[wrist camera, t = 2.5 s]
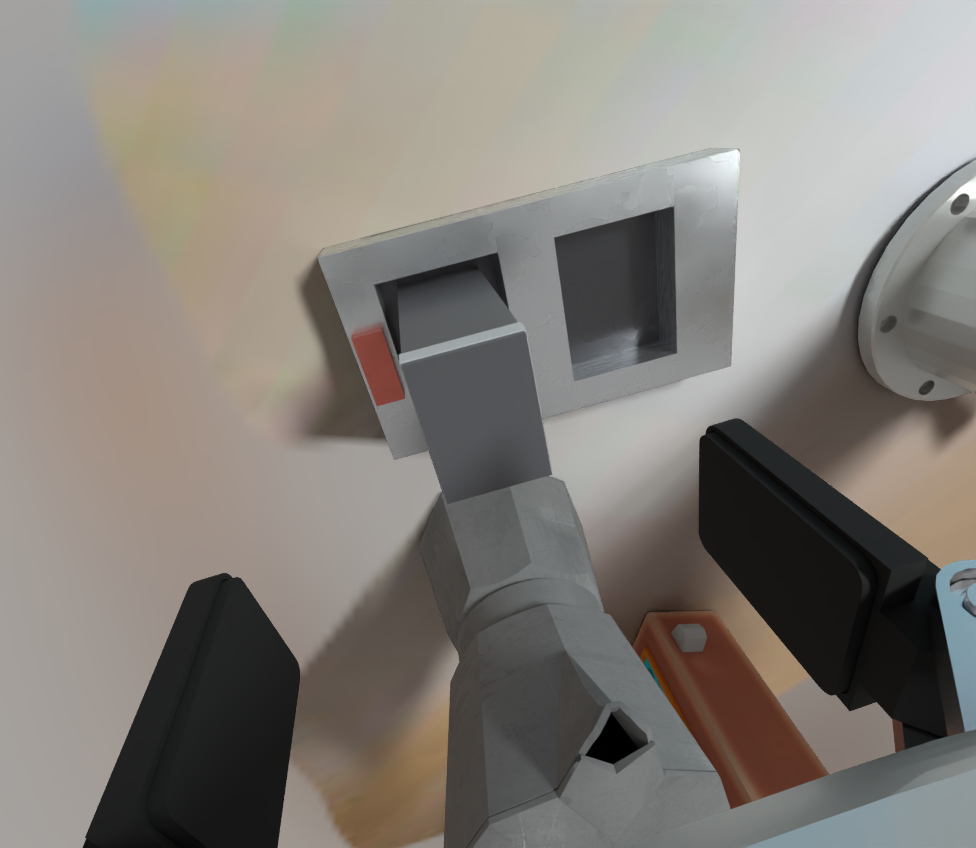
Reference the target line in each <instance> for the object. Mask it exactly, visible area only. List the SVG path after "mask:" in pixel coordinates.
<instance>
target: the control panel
mask: <svg viewBox="0 0 976 848" xmlns="http://www.w3.org/2000/svg"><path fill="white" fill-rule="evenodd" d="M632 648H633V649H634V651H635V652H636V654H637V655H638V657H639V658H640V660H641V661H642V662H643V664H644V665H645V667H646V668H647V670H648V671H649V673H650V674H651V676H652V677H653V679H654V680H655V682H656V683H657V685H658V686H659V687H660V689H661V690H662V692H663V693H664V695H665V696H666V698H667V699H668V701H669V702H670V704H671V705H672V707H673V708H674V710H675V711H676V712H677V714H678V715H679V717H680V718H681V720H682V721H683V723H684V724H685V726H686V727H687V729H688V730H689V732H690V733H691V735H692V736H693V737H694V739H695V740H696V742H697V743H698V745H699V746H700V748H701V749H702V751H703V752H704V754H705V755H706V757H707V758H708V760H709V761H710V763H711V764H712V765H713V767H714V768H715V770H716V772H717V773H718V774H719V776H720V778H721V781H722V784H723V787H724V790H725V793H726V797H727V800H728V803H729V806H730V809H733V808H736V807H739V806H742V805H745V804H747V803H750V802H753V801H756V800H759V799H762V798H765V797H767V796H770V795H773V794H776V793H779V792H782V791H784V790H787V789H790V788H793V787H796V786H799V785H801V784H804V783H807V782H810V781H813V780H816V779H819V778H821V777H824V776H827V775H830V774H829V773H828V772H827V770H826V769H825V767H824V766H823V765H822V763H821V762H820V760H819V759H818V757H817V756H816V754H815V753H814V752H813V750H812V749H811V747H810V746H809V744H808V743H807V742H806V740H805V739H804V737H803V736H802V734H801V733H800V732H799V730H798V729H797V727H796V726H795V724H794V723H793V722H792V720H791V719H790V717H789V716H788V715H787V713H786V712H785V710H784V709H783V707H782V706H781V705H780V703H779V702H778V700H777V699H776V697H775V696H774V695H773V693H772V692H771V690H770V689H769V687H768V686H767V685H766V683H765V682H764V680H763V679H762V677H761V676H760V675H759V673H758V672H757V670H756V669H755V667H754V666H753V665H752V663H751V662H750V660H749V659H748V657H747V656H746V655H745V653H744V652H743V650H742V649H741V647H740V646H739V645H738V643H737V642H736V640H735V639H734V637H733V636H732V635H731V633H730V632H729V630H728V629H727V627H726V626H725V625H724V623H723V622H722V620H721V619H720V617H719V616H718V615H717V613H716V612H715V611H672V612H649V613H647V614H646V617H645V619H644V621H643V623H642V626H641V628H640V630H639V633H638V635H637V637H636V639H635V642H634V644H633V646H632Z"/></svg>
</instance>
